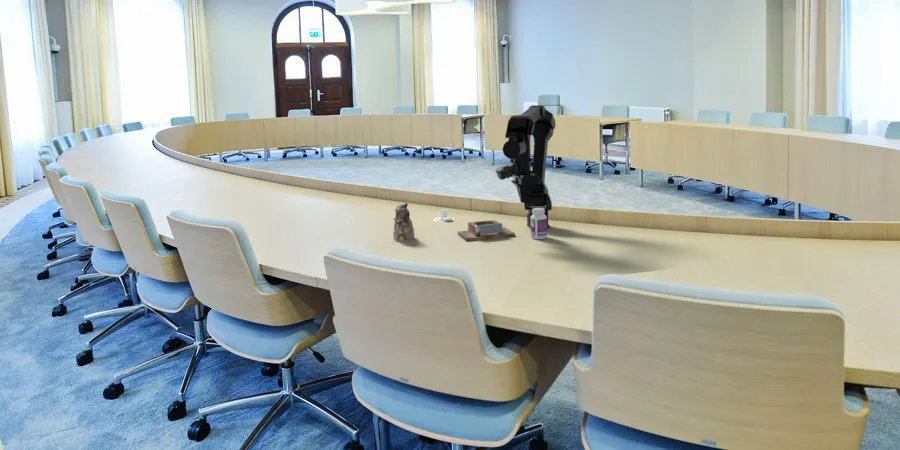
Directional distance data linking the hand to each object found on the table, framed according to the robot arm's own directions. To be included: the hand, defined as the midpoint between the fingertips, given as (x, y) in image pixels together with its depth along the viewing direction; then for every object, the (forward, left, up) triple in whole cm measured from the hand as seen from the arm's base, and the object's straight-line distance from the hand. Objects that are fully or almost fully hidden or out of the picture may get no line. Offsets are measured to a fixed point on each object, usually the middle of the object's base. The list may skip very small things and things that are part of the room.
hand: (522, 202), depth 225 cm
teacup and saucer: (+19, -39, -13) cm, 46 cm away
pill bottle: (-5, +2, -12) cm, 13 cm away
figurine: (+37, -15, -12) cm, 42 cm away
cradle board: (+10, -9, -12) cm, 18 cm away
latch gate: (+10, -5, -10) cm, 15 cm away
